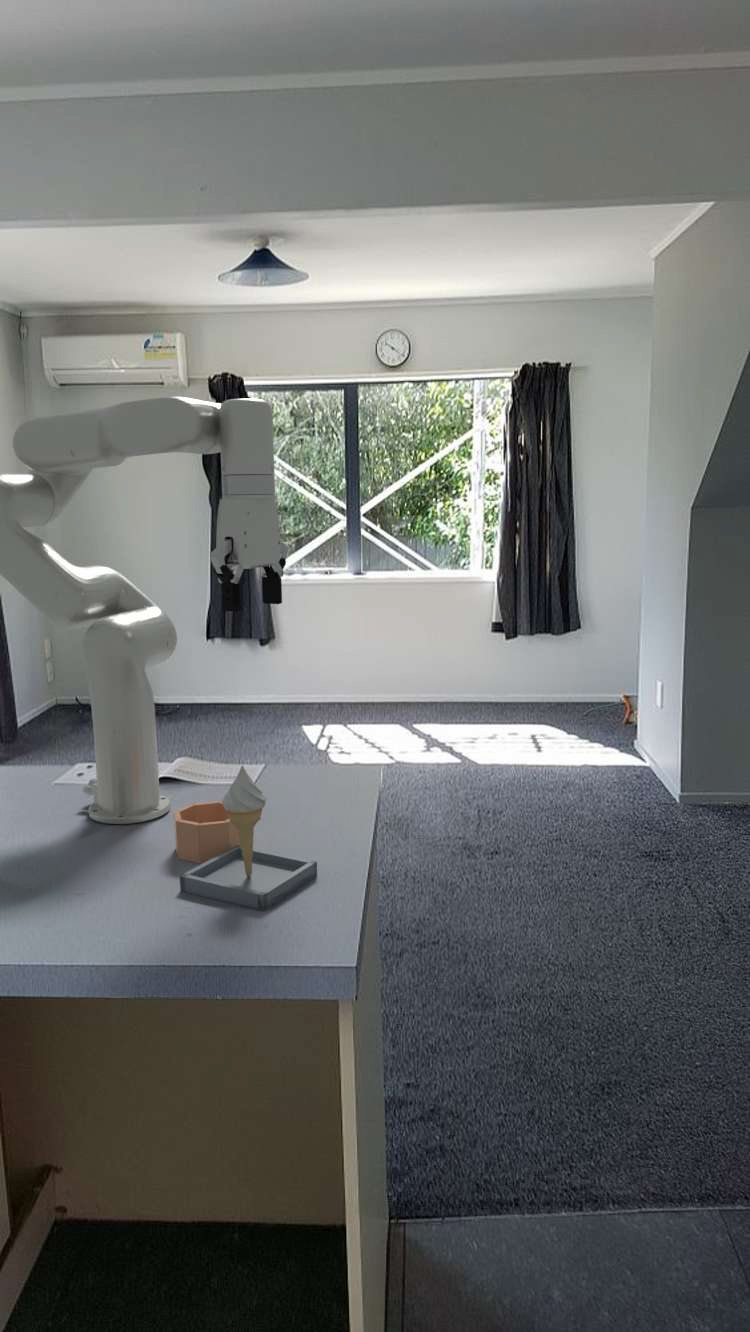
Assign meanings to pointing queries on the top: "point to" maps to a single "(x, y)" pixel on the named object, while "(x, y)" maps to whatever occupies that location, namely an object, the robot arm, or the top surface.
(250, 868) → the ice cream cone
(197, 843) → the holder cup
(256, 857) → the slate tray
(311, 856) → the top surface
